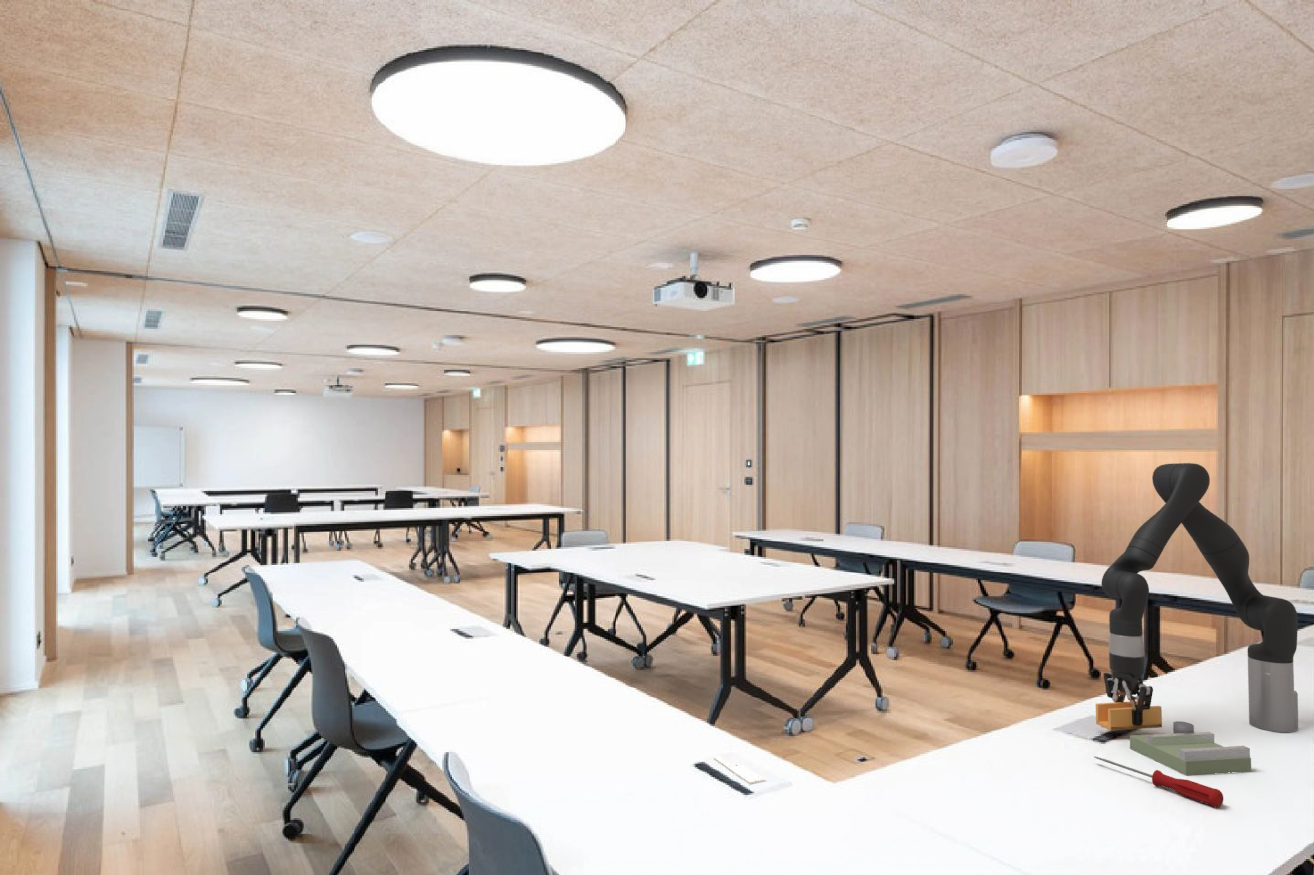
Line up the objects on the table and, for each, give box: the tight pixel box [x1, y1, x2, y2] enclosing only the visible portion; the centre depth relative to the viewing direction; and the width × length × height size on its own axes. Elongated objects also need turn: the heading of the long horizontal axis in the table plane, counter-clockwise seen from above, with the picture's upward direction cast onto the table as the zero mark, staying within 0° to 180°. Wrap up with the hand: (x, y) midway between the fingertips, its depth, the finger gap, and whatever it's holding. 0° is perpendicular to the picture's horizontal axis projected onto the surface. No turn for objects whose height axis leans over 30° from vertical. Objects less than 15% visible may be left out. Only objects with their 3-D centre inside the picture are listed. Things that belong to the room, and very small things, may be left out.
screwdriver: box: [1093, 756, 1224, 809], centre depth 160 cm, size 4×25×4 cm, turn 29°
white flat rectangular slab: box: [713, 755, 768, 785], centre depth 166 cm, size 5×15×1 cm, turn 25°
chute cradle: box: [1146, 731, 1251, 761], centre depth 171 cm, size 16×10×2 cm, turn 98°
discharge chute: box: [1095, 700, 1163, 732], centre depth 190 cm, size 14×5×5 cm, turn 99°
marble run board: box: [1129, 720, 1252, 777], centre depth 174 cm, size 16×16×6 cm
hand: (1128, 720), depth 189 cm, fingers closed on discharge chute, 5 cm apart
